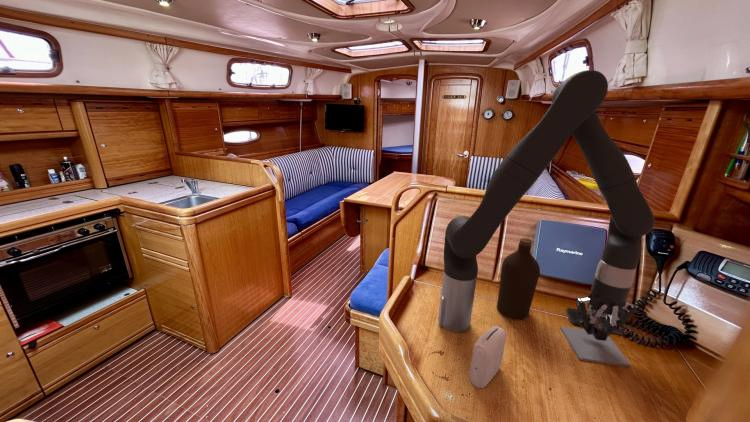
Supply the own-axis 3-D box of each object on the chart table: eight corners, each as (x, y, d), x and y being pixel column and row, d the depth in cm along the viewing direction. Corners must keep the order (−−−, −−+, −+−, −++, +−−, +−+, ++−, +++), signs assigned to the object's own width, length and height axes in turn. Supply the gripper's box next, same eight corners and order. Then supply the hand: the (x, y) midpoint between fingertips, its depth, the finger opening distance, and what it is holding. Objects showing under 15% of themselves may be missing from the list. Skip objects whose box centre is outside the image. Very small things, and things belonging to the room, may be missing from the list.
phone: (565, 307, 98) (620, 317, 93) (564, 310, 98) (619, 320, 94) (571, 322, 91) (631, 334, 86) (570, 325, 91) (630, 337, 87)
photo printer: (482, 392, 69) (490, 350, 65) (466, 380, 72) (472, 339, 68) (502, 367, 76) (510, 327, 72) (486, 357, 79) (493, 318, 75)
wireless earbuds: (593, 323, 87) (596, 314, 85) (607, 342, 80) (610, 332, 79) (576, 321, 87) (578, 312, 86) (587, 339, 81) (590, 330, 80)
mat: (578, 359, 79) (579, 357, 78) (560, 328, 90) (560, 326, 90) (630, 366, 77) (630, 364, 76) (604, 333, 88) (605, 331, 88)
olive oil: (520, 326, 90) (536, 251, 82) (488, 309, 98) (499, 238, 90) (536, 312, 96) (552, 241, 88) (505, 296, 104) (517, 230, 96)
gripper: (635, 273, 79) (616, 327, 84) (576, 268, 81) (562, 321, 87) (655, 289, 72) (634, 347, 77) (590, 283, 74) (574, 340, 80)
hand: (596, 333), depth 82 cm, fingers closed on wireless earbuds, 3 cm apart
